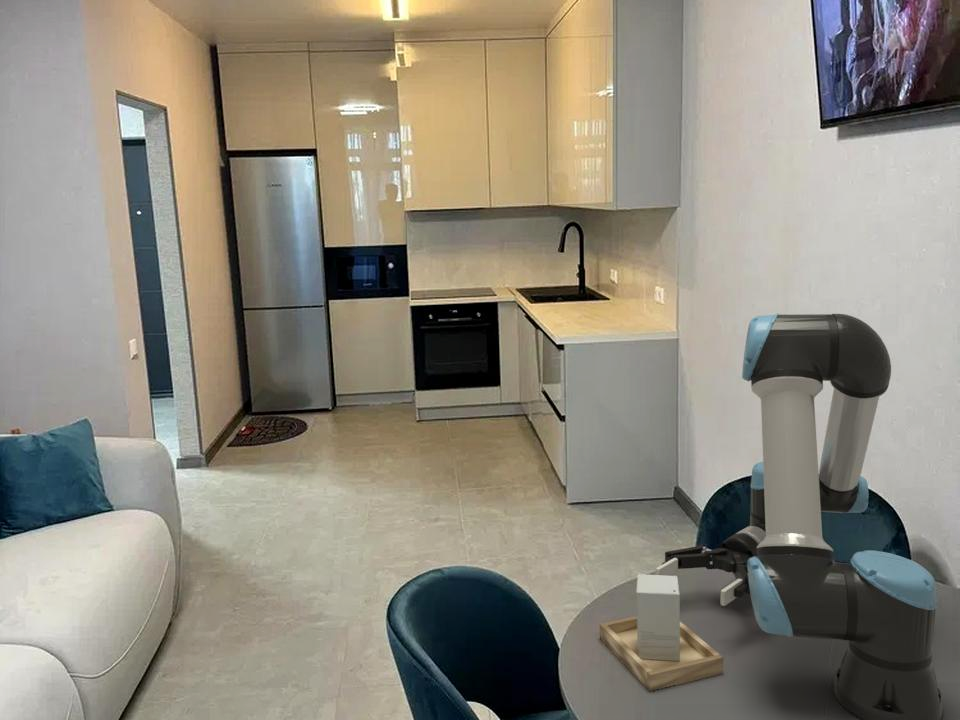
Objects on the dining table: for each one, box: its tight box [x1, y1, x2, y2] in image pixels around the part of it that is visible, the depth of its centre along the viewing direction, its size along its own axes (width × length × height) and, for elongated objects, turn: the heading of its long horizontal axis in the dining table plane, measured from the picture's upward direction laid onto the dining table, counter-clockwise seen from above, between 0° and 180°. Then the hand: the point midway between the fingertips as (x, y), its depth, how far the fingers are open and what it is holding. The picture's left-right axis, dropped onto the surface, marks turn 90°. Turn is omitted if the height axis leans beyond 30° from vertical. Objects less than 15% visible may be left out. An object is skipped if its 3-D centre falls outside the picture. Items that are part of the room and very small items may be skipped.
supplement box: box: [635, 573, 681, 661], centre depth 138 cm, size 7×7×13 cm
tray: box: [599, 615, 724, 692], centre depth 139 cm, size 18×14×3 cm
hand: (688, 586), depth 144 cm, fingers open, 13 cm apart
